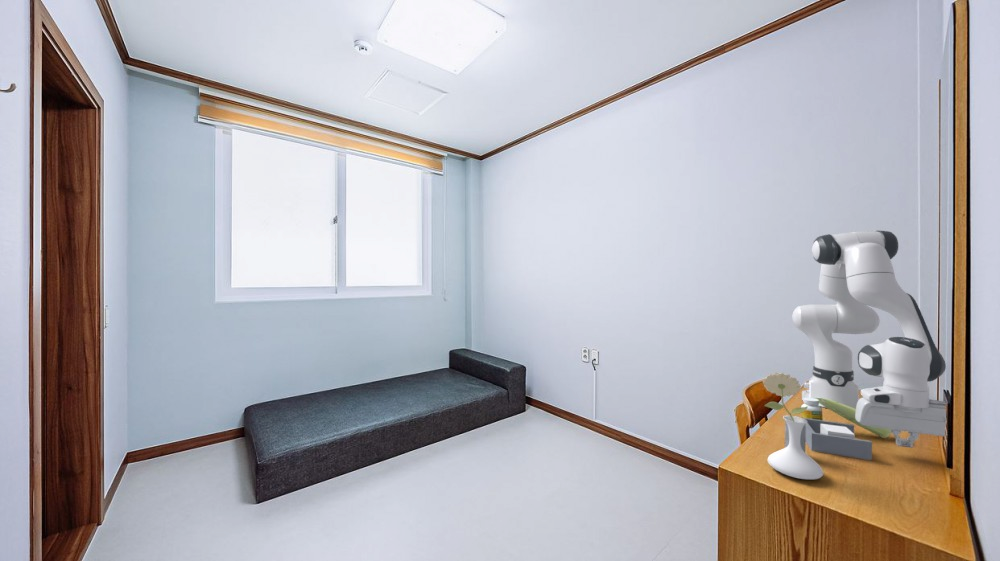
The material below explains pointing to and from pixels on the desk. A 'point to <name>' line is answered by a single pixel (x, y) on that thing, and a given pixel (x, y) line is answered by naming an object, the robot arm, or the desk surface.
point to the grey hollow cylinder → (802, 438)
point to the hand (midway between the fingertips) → (904, 446)
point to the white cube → (836, 431)
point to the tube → (851, 416)
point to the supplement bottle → (812, 409)
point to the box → (836, 441)
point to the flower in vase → (791, 432)
